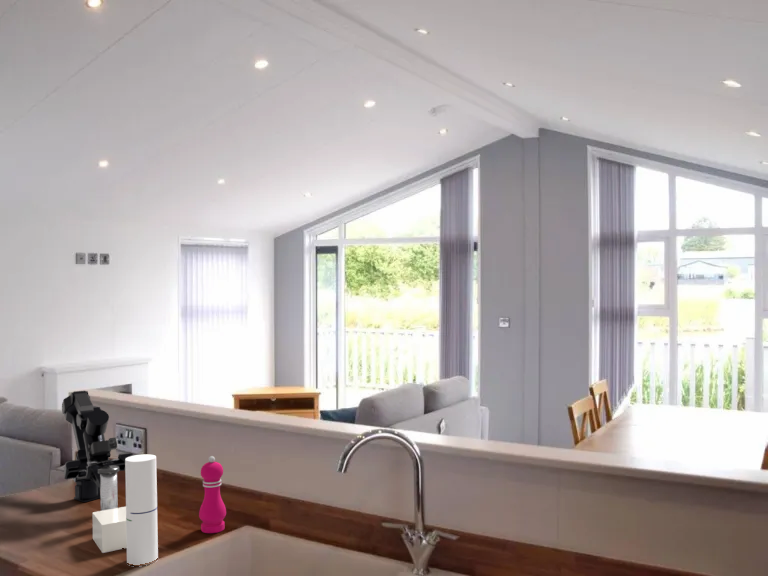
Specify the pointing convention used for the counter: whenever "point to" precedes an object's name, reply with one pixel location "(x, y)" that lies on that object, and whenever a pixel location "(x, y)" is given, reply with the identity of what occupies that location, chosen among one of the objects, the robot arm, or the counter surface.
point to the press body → (110, 529)
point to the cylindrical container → (141, 509)
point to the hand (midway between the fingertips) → (104, 490)
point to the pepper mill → (212, 498)
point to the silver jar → (108, 487)
